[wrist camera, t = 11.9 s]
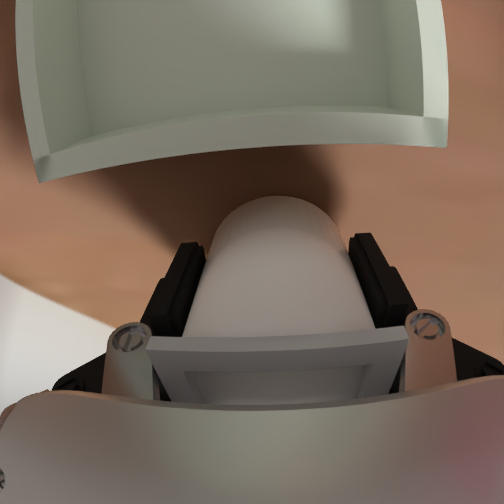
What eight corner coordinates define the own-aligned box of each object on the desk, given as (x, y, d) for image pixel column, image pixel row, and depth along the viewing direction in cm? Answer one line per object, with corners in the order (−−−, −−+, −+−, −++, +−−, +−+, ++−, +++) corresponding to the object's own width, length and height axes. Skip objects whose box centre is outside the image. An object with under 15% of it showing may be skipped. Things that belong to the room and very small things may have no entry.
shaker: (346, 192, 11) (421, 329, 5) (339, 306, 13) (368, 447, 7) (200, 200, 11) (132, 341, 5) (221, 311, 14) (195, 452, 8)
